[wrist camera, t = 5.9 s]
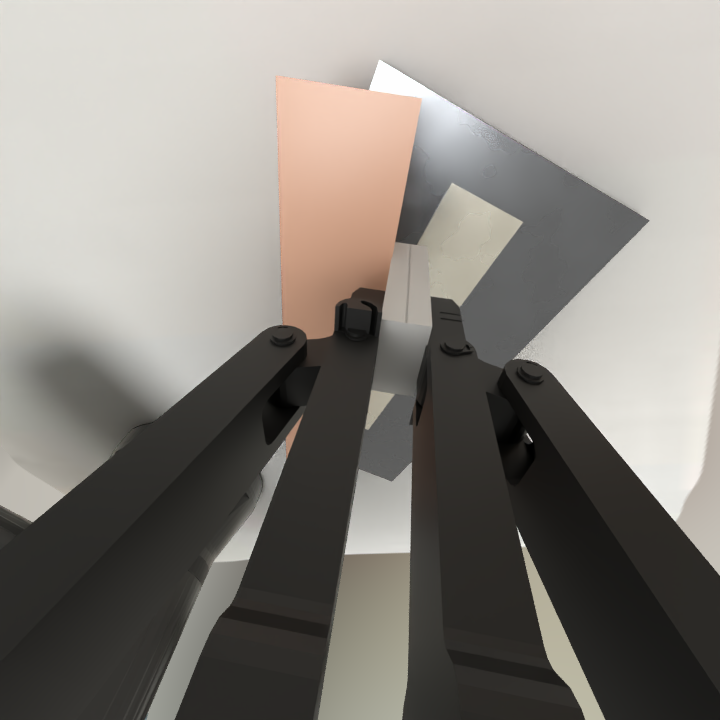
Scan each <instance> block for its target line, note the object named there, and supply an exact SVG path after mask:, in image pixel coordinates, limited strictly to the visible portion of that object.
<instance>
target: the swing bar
mask: <svg viewBox="0 0 720 720" xmlns="http://www.w3.org/2000/svg"><path fill="white" fill-rule="evenodd" d="M276 101H277V137H278V173H279V209H280V245H281V281H282V317H283V325H289V326H294V327H297V328H299V329H301V330H303V332H304V333H305V334H306V337H307V339H320V338H325V337H329V336H331V335H333V332H334V324H335V306H336V304H337V303H338V302H339V301H342V300H344V299H348V298H351V296H352V293H353V292H354V291H356V290H357V289H358V288H360V287H361V288H368V289H375V290H382V291H386V286H387V280H388V275H389V269H390V263H391V258H392V256H393V250H394V245H395V240H396V234H397V229H398V224H399V219H400V213H401V208H402V203H403V197H404V192H405V187H406V181H407V176H408V171H409V165H410V160H411V155H412V149H413V144H414V139H415V134H416V128H417V123H418V118H419V112H420V107H421V102H422V98H416V97H410V96H403V95H397V94H391V93H384V92H378V91H371V90H365V89H359V88H352V87H346V86H340V85H333V84H327V83H320V82H314V81H308V80H301V79H295V78H289V77H282V76H276ZM302 416H303V415H302ZM302 416H301V418H300V419H299V420H298V422H297V423H296V425H295V426H294V427H293V429H292V430H291V431H290V433H289V434H288V435H287V437H286V460H287V457H288V454H289V451H290V449H291V446H292V443H293V441H294V438H295V435H296V432H297V430H298V427H299V424H300V422H301V419H302Z"/></svg>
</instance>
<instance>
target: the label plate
mask: <svg viewBox="0 0 720 720" xmlns="http://www.w3.org/2000/svg"><path fill="white" fill-rule="evenodd" d="M369 90H371V91H378V92H384V93H391V94H397V95H403V96H410V97H416V98H422V102H421V107H420V112H419V118H418V123H417V128H416V134H415V139H414V144H413V149H412V155H411V160H410V165H409V171H408V176H407V181H406V187H405V192H404V197H403V203H402V208H401V213H400V219H399V224H398V229H397V234H396V240H395V242H398V243H405V244H413V245H420V246H428V262H429V279H430V296H432V297H439V298H446V299H453V301H454V302H455V303H456V304H457V305H458V306H459V308H460V313H461V318H462V323H463V328H464V333H465V338H466V341H468V342H469V343H470V344H471V345H473V346H474V348H475V350H476V352H477V356H478V359H480V360H482V361H484V362H486V363H489V364H491V365H494V366H497V367H500V368H504V366H505V364H506V363H507V362H509V361H510V360H512V359H513V358H514V357H515V356H516V355H517V354H518V353H519V352H520V351H521V350H522V349H523V348H524V347H525V346H526V345H527V344H528V343H529V342H530V341H531V340H532V339H533V338H534V337H535V336H536V335H537V334H538V333H539V332H540V331H541V330H542V329H543V328H544V327H545V326H546V325H547V324H548V323H549V322H550V321H551V320H552V319H553V318H554V317H555V316H556V315H557V314H558V313H559V312H560V311H561V310H562V309H563V308H564V307H565V306H566V305H567V304H568V303H569V302H570V301H571V300H572V299H573V298H574V297H575V296H576V295H577V294H578V292H579V291H580V290H581V289H582V288H583V287H584V286H585V285H586V284H587V283H588V282H589V281H590V280H591V279H592V278H593V277H594V276H595V275H596V274H597V273H598V272H599V271H600V270H601V269H602V268H603V267H604V266H605V265H606V264H607V263H608V262H609V261H610V260H611V259H612V258H613V257H614V256H615V255H616V254H617V253H618V252H619V251H620V250H621V249H622V248H623V247H624V246H625V245H626V244H627V243H628V242H629V241H630V240H631V239H632V238H633V237H634V236H635V235H636V234H637V233H638V232H639V231H640V230H641V229H642V228H643V227H644V226H645V225H646V224H647V223H648V222H649V220H648V219H646V218H644V217H643V216H641V215H639V214H638V213H636V212H634V211H633V210H631V209H629V208H628V207H626V206H624V205H622V204H621V203H619V202H617V201H616V200H614V199H612V198H611V197H609V196H607V195H606V194H604V193H602V192H601V191H599V190H597V189H596V188H594V187H592V186H591V185H589V184H587V183H586V182H584V181H582V180H580V179H579V178H577V177H575V176H574V175H572V174H570V173H569V172H567V171H565V170H564V169H562V168H560V167H559V166H557V165H555V164H554V163H552V162H550V161H549V160H547V159H545V158H544V157H542V156H540V155H539V154H537V153H535V152H533V151H532V150H530V149H528V148H527V147H525V146H523V145H522V144H520V143H518V142H517V141H515V140H513V139H512V138H510V137H508V136H507V135H505V134H503V133H502V132H500V131H498V130H497V129H495V128H493V127H492V126H490V125H488V124H486V123H485V122H483V121H481V120H480V119H478V118H476V117H475V116H473V115H471V114H470V113H468V112H466V111H465V110H463V109H461V108H460V107H458V106H456V105H455V104H453V103H451V102H450V101H448V100H446V99H445V98H443V97H441V96H439V95H438V94H436V93H434V92H433V91H431V90H429V89H428V88H426V87H424V86H423V85H421V84H419V83H418V82H416V81H414V80H413V79H411V78H409V77H408V76H406V75H404V74H403V73H401V72H399V71H398V70H396V69H394V68H392V67H391V66H389V65H387V64H386V63H384V62H382V61H381V60H379V63H378V66H377V69H376V72H375V74H374V77H373V80H372V83H371V86H370V88H369ZM416 396H417V387H416V391H415V395H414V397H412V396H405V395H399V394H393V393H386V392H380V391H374V390H371V395H370V401H369V408H368V414H367V420H366V426H365V432H364V438H363V444H362V450H361V456H360V462H359V468H358V469H361V470H364V471H366V472H369V473H371V474H374V475H377V476H379V477H382V478H385V479H387V480H390V481H393V480H394V479H395V478H396V477H397V476H398V475H399V474H400V473H401V472H402V471H403V470H404V469H405V468H406V467H407V466H408V465H409V464H410V463H411V462H412V450H413V425H409V423H410V419H411V415H412V411H413V408H414V404H415V400H416ZM284 440H285V441H286V438H285V439H284Z"/></svg>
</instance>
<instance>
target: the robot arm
mask: <svg viewBox="0 0 720 720" xmlns="http://www.w3.org/2000/svg"><path fill="white" fill-rule="evenodd" d="M416 387H417V396H416V400H415V404H414V408H413V411H412V415H411V419H410V423H409V425H413V450H412V501H411V551H410V604H409V607H410V608H409V654H408V682H407V690H406V696H405V701H404V708H403V719H402V720H585V718H584V715H583V712H582V709H581V707H580V706H579V704H578V702H577V700H576V698H575V696H574V694H573V692H572V690H571V689H570V687H569V686H568V685H567V684H566V683H565V682H564V681H563V680H562V679H561V678H560V677H559V676H558V674H556V672H555V671H554V670H553V668H552V666H551V664H550V662H549V660H548V658H547V655H546V651H545V648H544V644H543V640H542V636H541V631H540V627H539V623H538V618H537V614H536V610H535V605H534V601H533V596H532V592H531V588H530V583H529V579H528V575H527V570H526V566H525V561H524V557H523V553H522V548H521V544H520V540H519V535H518V531H517V528H518V530H519V532H520V534H521V537H522V539H523V541H524V543H525V545H526V547H527V549H528V552H529V554H530V556H531V558H532V561H533V563H534V565H535V567H536V569H537V571H538V574H539V576H540V578H541V580H542V582H543V585H544V586H545V589H546V591H547V593H548V595H549V597H550V600H551V602H552V604H553V606H554V608H555V611H556V613H557V615H558V617H559V619H560V621H561V624H562V626H563V628H564V630H565V632H566V634H567V637H568V639H569V641H570V643H571V646H572V648H573V650H574V652H575V654H576V657H577V658H578V661H579V663H580V665H581V667H582V670H583V672H584V674H585V676H586V678H587V681H588V683H589V685H590V687H591V689H592V691H593V694H594V696H595V698H596V700H597V702H598V704H599V707H600V709H601V711H602V713H603V715H604V718H605V720H720V576H719V574H718V573H717V572H716V571H715V570H714V568H713V567H712V566H711V565H710V563H709V562H708V561H707V560H706V559H705V557H704V556H703V555H702V554H701V553H700V551H699V550H698V549H697V548H696V547H695V545H694V544H693V543H692V542H691V541H690V539H689V538H688V537H687V536H686V535H685V533H684V532H683V531H682V530H681V529H680V527H679V526H678V525H677V524H676V522H675V521H674V520H673V519H672V518H671V516H670V515H669V514H668V513H667V512H666V510H665V509H664V508H663V507H662V506H661V504H660V503H659V502H658V501H657V500H656V498H655V497H654V496H653V495H652V494H651V492H650V491H649V490H648V489H647V488H646V486H645V485H644V484H643V483H642V481H641V480H640V479H639V478H638V477H637V475H636V474H635V473H634V472H633V471H632V469H631V468H630V467H629V466H628V465H627V463H626V462H625V461H624V460H623V459H622V457H621V456H620V455H619V454H618V453H617V451H616V450H615V449H614V448H613V447H612V445H611V444H610V443H609V442H608V441H607V439H606V438H605V437H604V436H603V435H602V433H601V432H600V431H599V430H598V429H597V427H596V426H595V425H594V424H593V422H592V421H591V420H590V419H589V418H588V416H587V415H586V414H585V413H584V412H583V410H582V409H581V408H580V407H579V406H578V404H577V403H576V402H575V401H574V400H573V398H572V397H571V396H570V395H569V394H568V392H567V391H566V390H565V389H564V388H563V386H562V385H561V384H560V383H559V382H558V380H557V379H556V378H555V377H554V376H553V374H552V373H550V372H549V371H548V370H547V369H546V368H544V367H543V366H541V365H539V364H538V363H535V362H532V361H529V360H522V359H515V360H510V361H509V362H507V363H506V364H505V366H504V368H500V367H497V366H494V365H491V364H489V363H486V362H484V361H482V360H480V359H478V356H477V352H476V350H475V348H474V346H473V345H471V344H470V343H469V342H468V341H466V338H465V333H464V328H463V323H462V318H461V313H460V308H459V306H458V305H457V304H456V303H455V302H454V301H453V299H446V298H439V297H432V296H430V279H429V262H428V246H420V245H413V244H405V243H398V242H395V245H394V250H393V256H392V258H391V263H390V269H389V275H388V280H387V286H386V291H382V290H375V289H368V288H361V287H360V288H358V289H357V290H356V291H354V292H353V293H352V296H351V298H348V299H344V300H342V301H339V302H338V303H337V304H336V306H335V324H334V332H333V335H331V336H329V337H325V338H320V339H307V337H306V334H305V333H304V332H303V330H301V329H299V328H297V327H294V326H289V325H279V326H274V327H270V328H268V329H266V330H265V331H263V332H262V333H260V334H259V335H258V336H257V337H256V338H254V339H253V340H252V341H251V342H250V343H248V344H247V345H246V346H245V347H243V348H242V349H241V350H240V351H239V352H237V353H236V354H235V355H234V356H233V357H231V358H230V359H229V360H228V361H227V362H225V363H224V364H223V365H222V366H221V367H219V368H218V369H217V370H216V371H215V372H213V373H212V374H211V375H210V376H209V377H207V378H206V379H205V380H204V381H203V382H201V383H200V384H199V385H198V386H197V387H195V388H194V389H193V390H192V391H191V392H189V393H188V394H187V395H186V396H185V397H183V398H182V399H181V400H180V401H179V402H177V403H176V404H175V405H174V406H173V407H171V408H170V409H169V410H168V411H167V412H165V413H164V414H163V415H162V416H160V417H159V418H158V419H157V420H156V421H154V422H153V423H151V424H145V425H141V426H138V427H136V428H134V429H133V430H131V431H130V432H129V433H128V434H127V435H126V437H125V438H124V439H123V440H122V441H121V442H120V444H119V445H118V446H117V447H116V448H115V450H114V451H113V453H112V455H111V457H110V459H109V460H108V461H106V462H105V463H104V464H103V465H102V466H100V467H99V468H98V469H97V470H96V471H94V472H93V473H92V474H91V475H90V476H88V477H87V478H86V479H85V480H84V481H82V482H81V483H80V484H79V485H77V486H76V487H75V488H74V489H73V490H71V491H70V492H69V493H68V494H67V495H65V496H64V497H63V498H62V499H61V500H59V501H58V502H57V503H56V504H55V505H53V506H52V507H51V508H50V509H49V510H48V511H46V512H45V513H44V514H43V515H42V516H40V517H39V518H38V519H37V520H35V521H34V522H31V521H29V520H27V519H25V518H23V517H22V516H20V515H18V514H16V513H14V512H12V511H10V510H8V509H6V508H5V507H3V506H1V505H0V720H146V719H147V716H148V711H149V708H150V706H151V704H152V701H153V699H154V696H155V694H156V692H157V690H158V687H159V685H160V682H161V680H162V678H163V676H164V673H165V671H166V669H167V666H168V664H169V662H170V659H171V657H172V655H173V653H174V650H175V648H176V646H177V643H178V641H179V638H180V636H181V634H182V632H183V629H184V627H185V624H186V622H187V620H188V618H189V615H190V613H191V610H192V608H193V606H194V604H195V601H196V599H197V597H198V594H199V592H200V590H201V587H202V585H203V583H204V580H205V578H206V576H207V574H208V572H209V569H210V567H211V565H212V563H213V561H214V560H215V558H216V557H217V556H218V555H219V553H220V552H221V551H222V550H223V548H224V547H225V546H226V545H227V543H228V542H229V541H230V540H231V538H232V537H233V536H234V535H235V533H236V532H237V531H238V530H239V528H240V527H241V526H242V525H243V523H244V522H245V521H246V520H247V518H248V517H249V516H250V515H251V513H252V512H253V510H254V508H255V506H256V503H257V501H258V498H259V496H260V493H261V490H262V480H261V477H260V474H259V473H260V472H261V471H262V469H263V468H264V467H265V465H266V464H267V463H268V461H269V460H270V458H271V457H272V456H273V454H274V453H275V452H276V450H277V449H278V448H279V446H280V445H281V444H282V442H283V441H284V439H285V438H286V437H287V435H288V434H289V433H290V431H291V430H292V429H293V427H294V426H295V425H296V423H297V422H298V420H299V419H300V418H301V416H302V415H303V416H302V419H301V422H300V424H299V427H298V430H297V432H296V435H295V438H294V441H293V443H292V446H291V449H290V451H289V454H288V457H287V460H286V462H285V465H284V468H283V470H282V473H281V476H280V478H279V481H278V484H277V487H276V489H275V492H274V495H273V497H272V500H271V503H270V505H269V508H268V511H267V514H266V516H265V519H264V522H263V524H262V527H261V530H260V532H259V535H258V538H257V541H256V543H255V546H254V549H253V551H252V554H251V557H250V559H249V562H248V565H247V568H246V571H245V573H244V576H243V578H242V581H241V584H240V587H239V589H238V591H237V594H236V596H235V598H234V600H233V602H232V604H231V605H230V606H229V607H228V608H227V609H226V610H225V612H224V613H223V614H222V615H221V616H220V617H219V619H218V620H217V622H216V624H215V625H214V627H213V629H212V631H211V632H210V634H209V637H208V639H207V641H206V643H205V646H204V648H203V650H202V653H201V655H200V657H199V660H198V662H197V665H196V667H195V670H194V673H193V675H192V677H191V680H190V683H189V685H188V688H187V690H186V693H185V695H184V698H183V700H182V703H181V705H180V708H179V711H178V713H177V716H176V718H175V720H318V714H319V708H320V701H321V695H322V689H323V682H324V676H325V669H326V663H327V657H328V651H329V645H330V638H331V632H332V626H333V620H334V614H335V608H336V602H337V596H338V590H339V584H340V578H341V571H342V566H343V560H344V553H345V547H346V541H347V535H348V529H349V523H350V517H351V511H352V505H353V499H354V493H355V487H356V480H357V474H358V468H359V462H360V456H361V450H362V444H363V438H364V432H365V426H366V420H367V414H368V408H369V401H370V395H371V390H374V391H380V392H386V393H393V394H399V395H405V396H412V397H414V395H415V391H416ZM527 433H528V434H529V436H530V437H531V439H532V441H533V442H531V441H530V440H529V438H528V436H527V435H526V434H527Z"/></svg>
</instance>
